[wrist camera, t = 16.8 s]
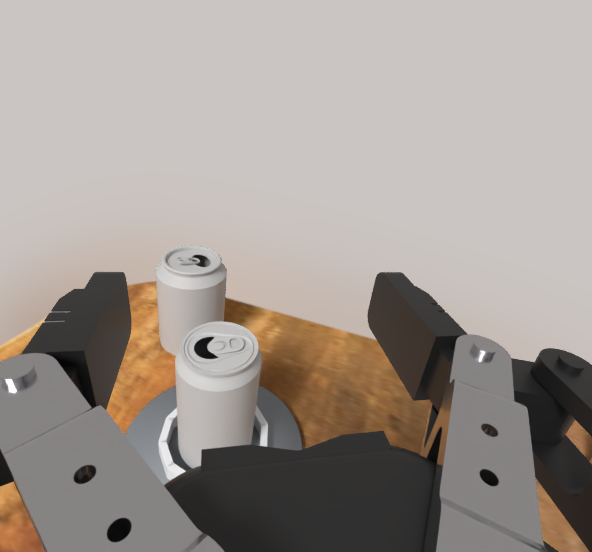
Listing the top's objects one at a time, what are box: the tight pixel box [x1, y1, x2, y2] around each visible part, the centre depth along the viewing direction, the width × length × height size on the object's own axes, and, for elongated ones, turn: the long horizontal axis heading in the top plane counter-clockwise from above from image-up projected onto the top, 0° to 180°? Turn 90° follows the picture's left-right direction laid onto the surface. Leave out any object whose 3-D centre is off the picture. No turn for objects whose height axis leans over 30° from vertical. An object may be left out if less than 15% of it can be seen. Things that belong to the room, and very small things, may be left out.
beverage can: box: [175, 321, 262, 468], centre depth 30 cm, size 6×6×12 cm
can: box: [156, 245, 227, 356], centre depth 42 cm, size 8×8×12 cm
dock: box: [125, 385, 302, 485], centre depth 33 cm, size 16×16×2 cm
